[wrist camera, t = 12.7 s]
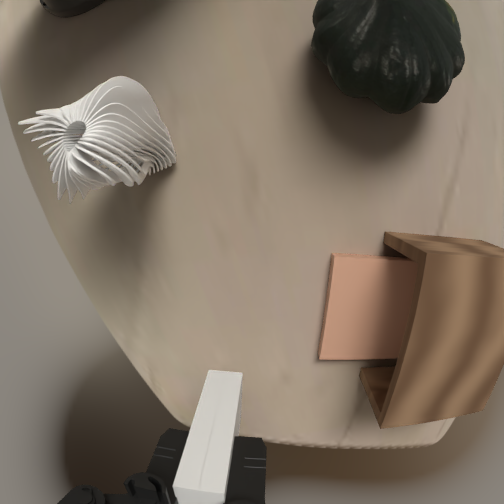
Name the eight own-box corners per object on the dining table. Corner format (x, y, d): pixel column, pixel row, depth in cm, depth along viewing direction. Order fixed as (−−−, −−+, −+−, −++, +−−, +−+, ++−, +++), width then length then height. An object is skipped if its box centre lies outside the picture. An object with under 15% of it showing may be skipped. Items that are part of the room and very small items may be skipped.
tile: (317, 350, 36) (319, 359, 34) (330, 251, 33) (334, 256, 31) (444, 347, 35) (450, 354, 33) (466, 260, 32) (474, 265, 30)
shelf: (359, 375, 36) (380, 428, 26) (384, 231, 32) (427, 253, 22) (449, 368, 35) (482, 410, 25) (481, 240, 31) (533, 260, 21)
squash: (490, 87, 22) (480, -37, 10) (405, 167, 25) (363, 30, 13) (397, 37, 30) (358, -61, 18) (316, 99, 33) (249, -1, 21)
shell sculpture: (111, 132, 31) (-7, 108, 13) (178, 105, 30) (89, 42, 12) (128, 202, 32) (12, 229, 15) (198, 179, 31) (116, 181, 14)
